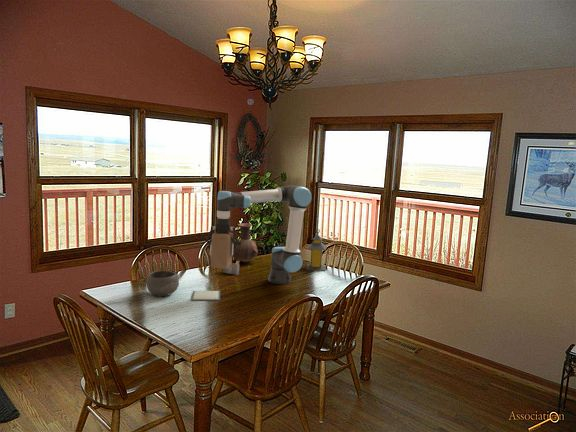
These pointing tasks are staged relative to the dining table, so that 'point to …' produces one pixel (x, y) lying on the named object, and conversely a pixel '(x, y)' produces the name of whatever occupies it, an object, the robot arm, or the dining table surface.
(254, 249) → the vase
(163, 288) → the bowl
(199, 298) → the mat
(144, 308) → the dining table surface
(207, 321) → the dining table surface
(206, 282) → the dining table surface
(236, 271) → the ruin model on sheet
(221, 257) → the wooden block
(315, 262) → the lantern
